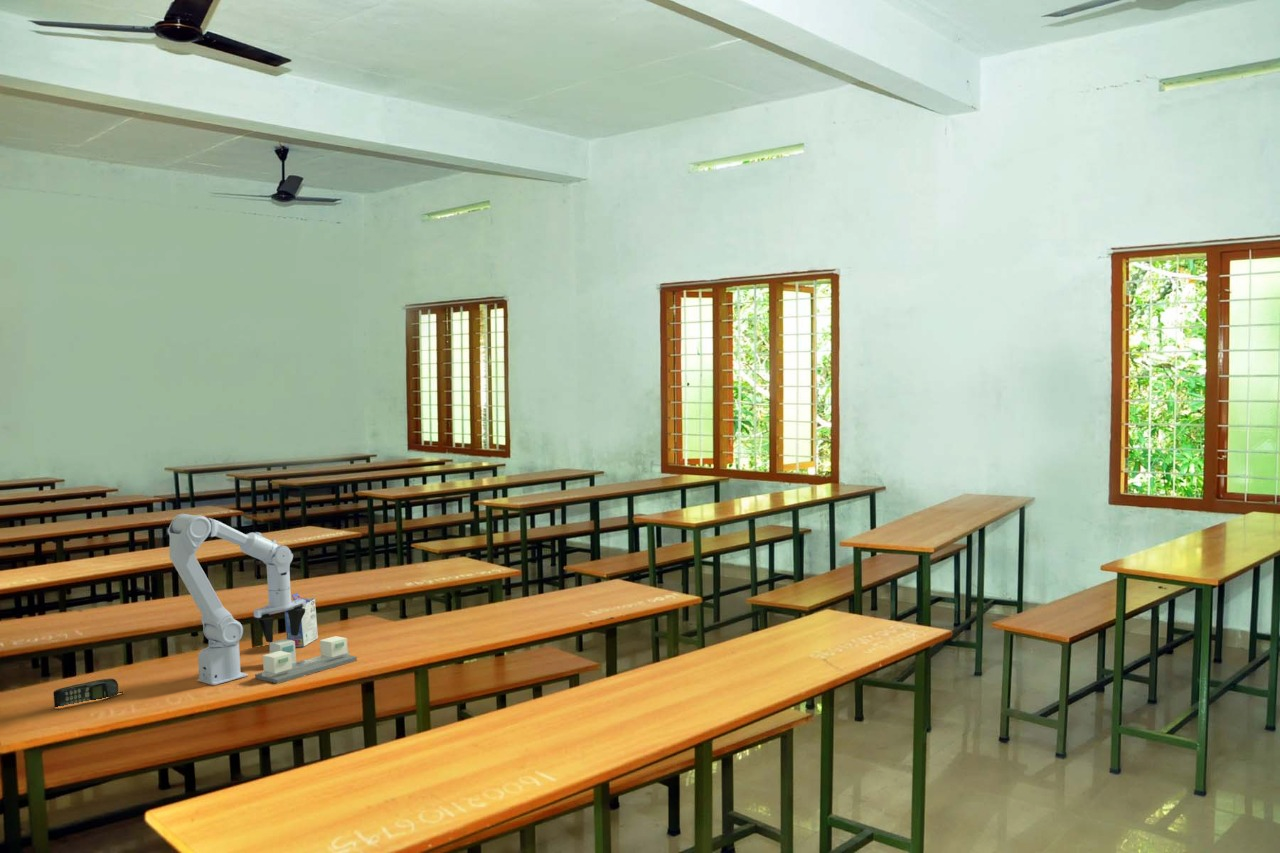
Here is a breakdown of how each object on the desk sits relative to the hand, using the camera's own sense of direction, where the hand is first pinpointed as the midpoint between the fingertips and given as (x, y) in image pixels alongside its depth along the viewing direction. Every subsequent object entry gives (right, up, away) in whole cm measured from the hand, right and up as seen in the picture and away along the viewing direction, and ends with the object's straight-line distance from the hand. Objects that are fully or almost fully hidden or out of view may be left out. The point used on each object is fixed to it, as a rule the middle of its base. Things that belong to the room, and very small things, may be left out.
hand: (282, 638), depth 264 cm
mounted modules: (+9, -5, -7) cm, 12 cm away
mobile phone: (-36, -10, -28) cm, 47 cm away
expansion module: (0, -7, 0) cm, 7 cm away
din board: (+9, -7, -6) cm, 13 cm away
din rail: (+9, -7, -6) cm, 13 cm away
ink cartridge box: (-2, -6, +22) cm, 23 cm away
